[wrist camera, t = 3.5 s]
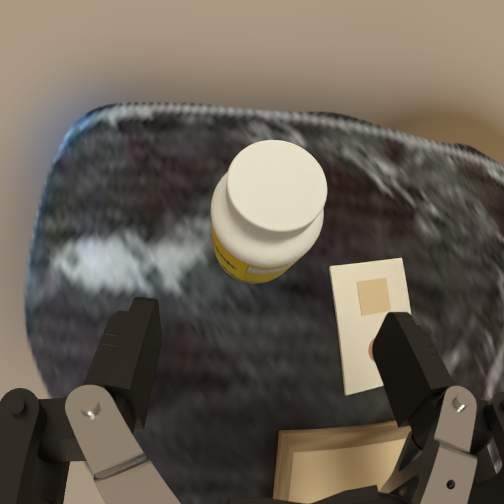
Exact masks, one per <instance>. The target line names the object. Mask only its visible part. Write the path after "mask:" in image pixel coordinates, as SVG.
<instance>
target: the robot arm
mask: <svg viewBox="0 0 504 504" xmlns="http://www.w3.org/2000/svg"><path fill="white" fill-rule="evenodd" d="M160 347H161V325H160V315H159V305H158V300H157V299H152V298H142V297H135V298H134V300H133V302H132V305H131V307H130V310H129V312H127V311H118V312H117V313H116V314H115V315H114V316H113V317H112V318H111V319H110V320H109V321H108V323H107V326H106V328H105V331H104V335H102V338H101V340H100V345H98V348H97V350H96V353H95V356H94V358H93V361H92V363H91V366H90V369H89V371H88V374H87V377H86V380H85V382H84V384H83V385H82V386H80V387H78V388H76V389H75V390H73V391H72V392H71V393H70V394H69V396H68V397H65V398H56V399H37V397H36V396H35V395H34V394H33V393H32V392H31V391H29V390H27V389H23V388H17V389H14V390H11V391H9V392H8V393H6V394H5V395H4V397H3V398H2V399H1V401H0V504H63V502H64V495H65V488H66V481H67V476H68V470H69V465H70V461H87V462H88V464H89V466H90V468H91V470H92V472H93V475H94V482H95V484H96V487H97V489H98V491H99V492H100V494H101V496H102V498H103V500H104V501H105V503H106V504H181V503H180V502H179V501H178V499H177V498H176V497H175V495H174V494H173V493H172V491H171V490H170V489H169V487H168V486H167V484H166V483H165V482H164V480H163V479H162V477H161V476H160V474H159V473H158V472H157V470H156V469H155V467H154V466H153V464H152V463H151V461H150V460H149V459H148V457H147V456H146V455H145V454H144V453H143V451H142V450H141V448H140V446H139V445H138V443H137V441H136V440H135V438H134V436H133V432H134V428H136V429H142V430H144V426H145V420H146V415H147V410H148V404H149V399H150V394H151V389H152V385H153V380H154V375H155V370H156V366H157V361H158V356H159V352H160ZM372 355H373V358H374V361H375V364H376V366H377V369H378V372H379V374H380V377H381V380H382V382H383V385H384V388H385V391H386V394H387V396H388V399H389V402H390V405H391V408H392V411H393V414H394V417H395V420H396V423H397V426H398V428H401V427H406V426H410V427H411V431H410V432H409V433H408V435H407V438H406V440H405V443H404V446H403V448H402V451H401V453H400V456H399V458H398V461H397V463H396V465H395V468H394V470H393V472H392V474H391V476H390V477H389V479H388V480H387V481H386V482H385V484H384V485H383V486H382V488H381V489H380V491H379V492H378V487H377V485H372V486H367V487H362V488H357V489H351V490H345V491H342V492H340V493H337V494H335V495H332V496H330V497H327V498H324V499H322V500H319V501H316V502H313V503H308V504H467V502H468V504H504V392H499V393H497V394H496V395H495V396H494V397H493V398H492V399H491V400H490V401H483V400H475V398H474V396H473V395H472V394H471V392H470V391H468V390H467V389H465V388H464V387H461V386H455V385H454V383H453V381H452V379H451V377H450V375H449V373H448V371H447V369H446V367H445V365H444V363H443V361H442V359H441V357H440V356H438V352H437V350H436V348H435V347H434V344H433V343H432V341H431V339H430V337H429V335H428V334H427V333H426V332H425V331H424V330H423V329H422V328H421V327H420V326H419V325H416V323H415V322H414V320H413V318H412V316H411V315H410V313H408V312H389V313H387V315H386V316H385V318H384V321H383V323H382V325H381V327H380V329H379V331H378V333H377V335H376V337H375V339H374V341H373V345H372ZM493 440H495V443H496V445H497V448H498V451H499V454H500V457H501V460H502V468H501V470H500V472H499V473H498V474H496V472H495V469H494V466H493V463H492V460H491V457H490V454H489V451H488V448H487V445H488V444H490V443H491V442H492V441H493ZM228 504H306V503H298V502H291V501H285V500H279V499H273V498H229V502H228Z"/></svg>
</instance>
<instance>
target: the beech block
mask: <svg viewBox="0 0 504 504" xmlns="http://www.w3.org/2000/svg"><path fill="white" fill-rule="evenodd" d="M410 431H411V427H410V426H406V427H401V428H398V426H397V423H396V420H394V421H388V422H381V423H374V424H366V425H358V426H348V427H337V428H324V429H307V430H279V436H278V448H277V459H276V470H275V481H274V491H273V499H279V500H285V501H291V502H298V503H306V504H308V503H313V502H316V501H319V500H322V499H324V498H327V497H330V496H332V495H335V494H337V493H340V492H342V491H345V490H351V489H357V488H362V487H367V486H372V485H377V487H378V492H379V491H380V489H381V488H382V486H383V485H384V484H385V482H386V481H387V480H388V479H389V477H390V476H391V474H392V472H393V470H394V468H395V465H396V463H397V461H398V458H399V456H400V453H401V451H402V448H403V446H404V443H405V440H406V438H407V435H408V433H409V432H410Z"/></svg>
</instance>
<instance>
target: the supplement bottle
mask: <svg viewBox="0 0 504 504" xmlns="http://www.w3.org/2000/svg"><path fill="white" fill-rule="evenodd" d="M326 197H327V183H326V178H325V175H324V173H323V170H322V168H321V167H320V165H319V163H318V162H317V161H316V160H315V159H314V158H313V156H312V155H310V154H309V153H308V152H307V151H306V150H304V149H302V148H301V147H299V146H297V145H295V144H292V143H289V142H285V141H280V140H266V141H260V142H257V143H254V144H252V145H250V146H248V147H246V148H245V149H243V150H242V151H241V152H240V153H239V154H238V155H237V156H236V157H235V158H234V160H233V161H232V163H231V165H230V168H229V171H228V172H227V173H226V174H225V175H224V176H223V177H222V178H221V180H220V181H219V183H218V185H217V187H216V189H215V191H214V194H213V197H212V202H211V223H212V235H213V246H214V251H215V255H216V258H217V260H218V262H219V264H220V266H221V267H222V268H223V270H224V271H225V272H226V273H227V274H229V275H230V276H231V277H233V278H234V279H236V280H238V281H241V282H244V283H249V284H261V283H266V282H269V281H271V280H274V279H276V278H278V277H279V276H281V275H282V274H283V273H284V272H285V271H286V270H287V269H289V268H290V267H291V266H292V265H293V264H294V263H295V262H296V261H297V260H298V259H300V258H301V257H302V256H303V255H304V254H305V253H306V252H307V251H308V250H309V249H310V248H311V247H312V245H313V244H314V243H315V241H316V239H317V238H318V236H319V233H320V231H321V228H322V224H323V215H324V212H323V207H324V204H325V201H326Z"/></svg>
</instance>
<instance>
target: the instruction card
mask: <svg viewBox="0 0 504 504" xmlns="http://www.w3.org/2000/svg"><path fill="white" fill-rule="evenodd" d="M329 273H330V280H331V286H332V293H333V300H334V307H335V315H336V322H337V330H338V338H339V347H340V355H341V365H342V374H343V385H344V395H350V394H354V393H358V392H362V391H365V390H369V389H373V388H376V387H380V386H383V382H382V380H381V377H380V374H379V372H378V369H377V366H376V364H375V361H374V358H373V355H372V345H373V341H374V339H375V337H376V335H377V333H378V331H379V329H380V327H381V325H382V323H383V321H384V318H385V316H386V315H387V313H389V312H408V313H410V315H411V310H410V303H409V297H408V290H407V284H406V278H405V273H404V267H403V262H402V258H396V259H388V260H380V261H372V262H364V263H355V264H347V265H338V266H330V267H329Z"/></svg>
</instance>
